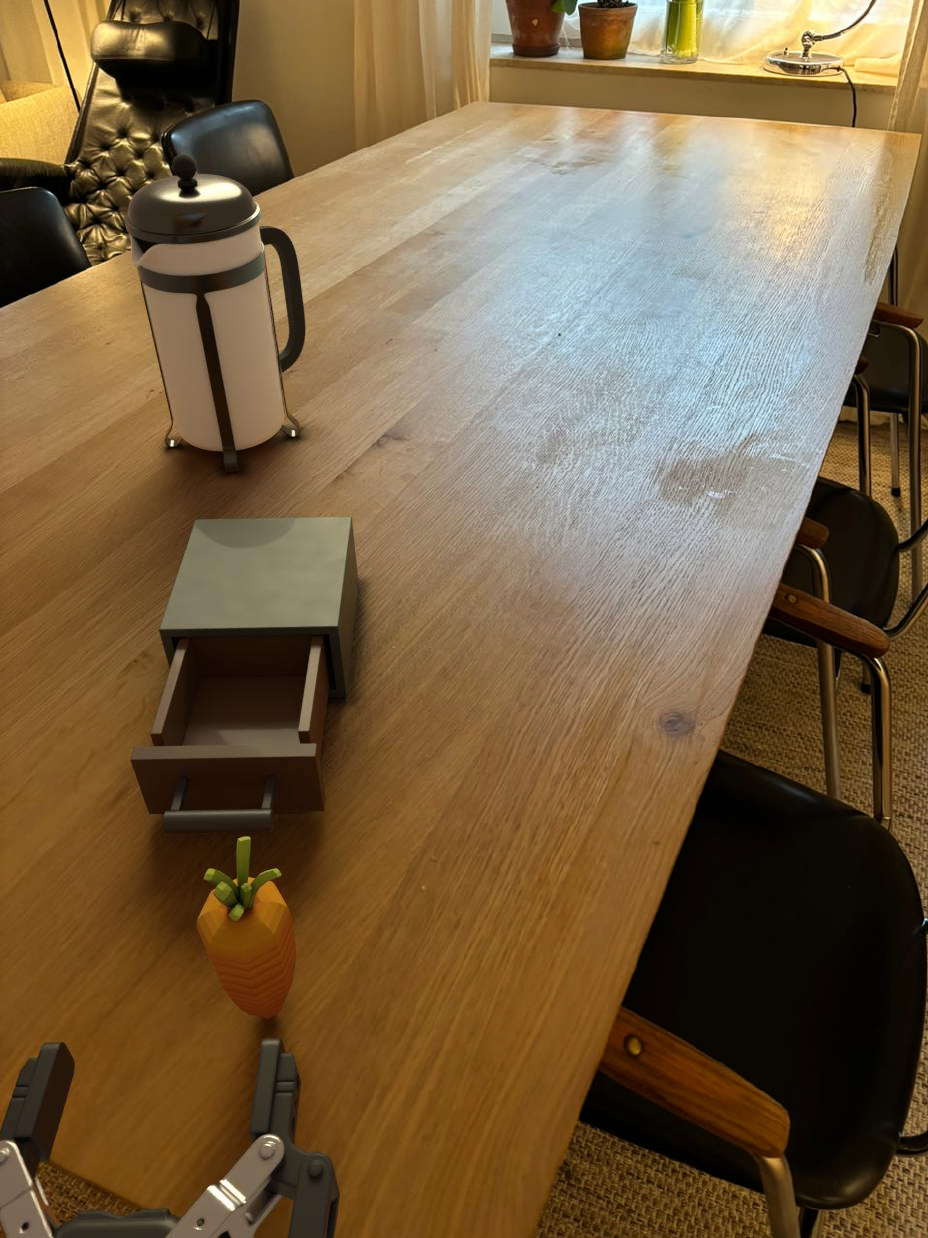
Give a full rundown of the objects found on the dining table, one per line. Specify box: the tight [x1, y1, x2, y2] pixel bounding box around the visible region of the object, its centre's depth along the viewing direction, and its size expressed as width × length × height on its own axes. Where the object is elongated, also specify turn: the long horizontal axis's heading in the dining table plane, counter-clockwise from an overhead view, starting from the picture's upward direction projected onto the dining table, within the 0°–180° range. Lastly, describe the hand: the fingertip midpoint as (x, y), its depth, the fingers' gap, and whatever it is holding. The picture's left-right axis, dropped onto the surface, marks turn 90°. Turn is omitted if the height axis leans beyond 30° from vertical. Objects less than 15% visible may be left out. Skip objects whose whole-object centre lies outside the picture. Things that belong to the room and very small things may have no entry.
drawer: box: [130, 634, 331, 835], centre depth 72 cm, size 18×12×6 cm
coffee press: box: [123, 153, 307, 473], centre depth 102 cm, size 17×16×30 cm
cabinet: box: [158, 516, 360, 699], centre depth 83 cm, size 15×14×8 cm
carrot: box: [196, 836, 297, 1020], centre depth 55 cm, size 5×5×15 cm
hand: (167, 1049), depth 39 cm, fingers open, 8 cm apart
